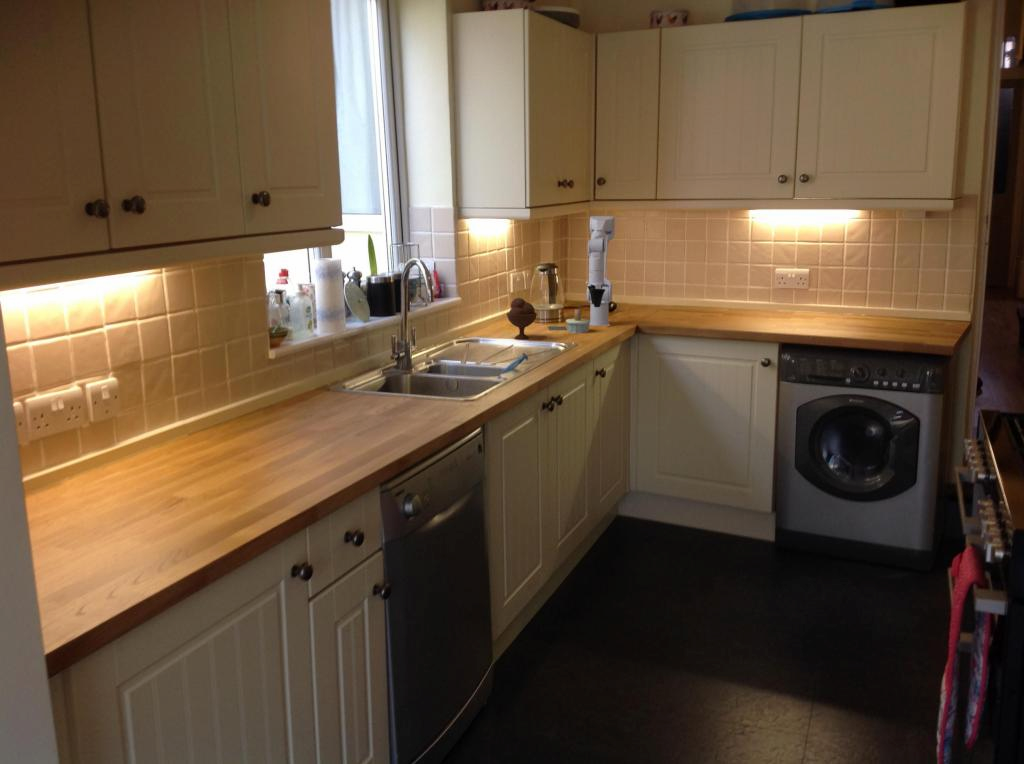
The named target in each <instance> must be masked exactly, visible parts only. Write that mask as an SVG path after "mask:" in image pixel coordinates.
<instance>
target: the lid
mask: <svg viewBox="0 0 1024 764" xmlns="http://www.w3.org/2000/svg"><path fill="white" fill-rule="evenodd" d="M565 323H566V324H568V323H569V324H587V323H590V319H587V318H582V309H579V308H578V309H574V318H567V319H565Z"/></svg>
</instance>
